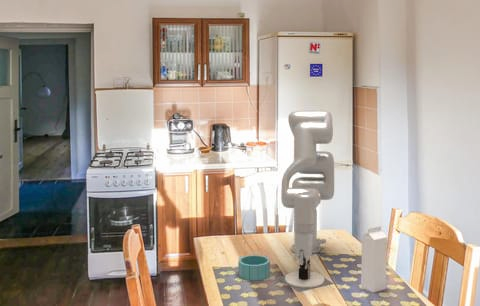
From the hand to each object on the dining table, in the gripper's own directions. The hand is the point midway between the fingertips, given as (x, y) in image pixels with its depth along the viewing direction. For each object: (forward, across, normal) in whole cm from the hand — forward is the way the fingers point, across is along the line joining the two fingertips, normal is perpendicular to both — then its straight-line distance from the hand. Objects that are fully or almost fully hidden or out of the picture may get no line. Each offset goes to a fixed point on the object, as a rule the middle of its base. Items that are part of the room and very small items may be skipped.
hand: (304, 276), depth 185 cm
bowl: (+2, -1, -19) cm, 19 cm away
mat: (+2, 0, 0) cm, 2 cm away
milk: (+2, 0, +24) cm, 24 cm away
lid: (+2, 0, 0) cm, 2 cm away
